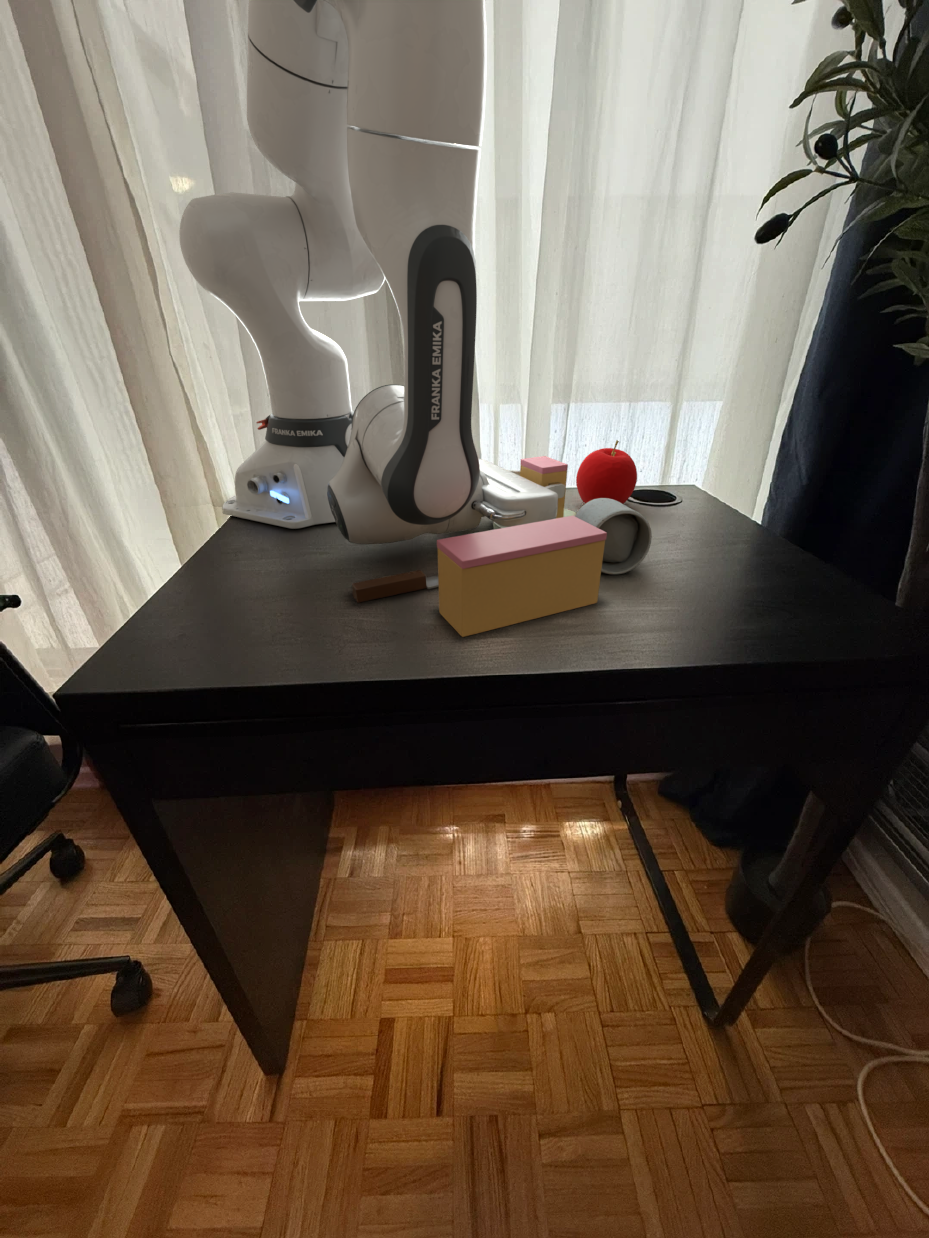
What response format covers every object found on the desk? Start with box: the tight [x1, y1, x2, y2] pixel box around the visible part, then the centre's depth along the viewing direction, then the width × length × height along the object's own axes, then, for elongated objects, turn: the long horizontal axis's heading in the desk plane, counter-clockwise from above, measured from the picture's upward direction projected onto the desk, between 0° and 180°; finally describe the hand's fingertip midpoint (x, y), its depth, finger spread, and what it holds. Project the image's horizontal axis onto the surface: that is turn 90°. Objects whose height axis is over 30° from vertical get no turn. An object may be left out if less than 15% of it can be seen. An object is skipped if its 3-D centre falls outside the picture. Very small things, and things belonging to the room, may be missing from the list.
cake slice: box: [519, 455, 569, 519], centre depth 78 cm, size 4×6×8 cm
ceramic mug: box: [575, 498, 653, 575], centre depth 68 cm, size 11×8×8 cm
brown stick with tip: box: [351, 569, 439, 604], centre depth 65 cm, size 20×2×2 cm, turn 116°
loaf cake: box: [436, 516, 607, 638], centre depth 58 cm, size 16×6×8 cm, turn 116°
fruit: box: [575, 439, 638, 505], centre depth 86 cm, size 9×9×10 cm
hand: (547, 483), depth 78 cm, fingers closed on cake slice, 5 cm apart
